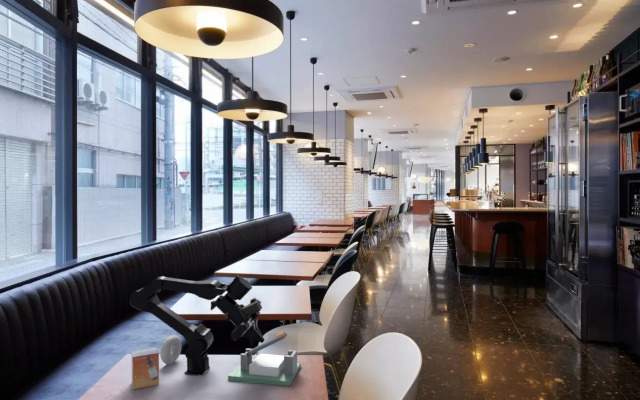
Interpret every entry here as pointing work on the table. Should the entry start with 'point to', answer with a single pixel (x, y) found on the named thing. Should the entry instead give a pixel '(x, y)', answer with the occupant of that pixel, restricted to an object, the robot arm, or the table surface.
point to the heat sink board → (261, 378)
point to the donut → (166, 347)
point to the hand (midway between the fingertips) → (263, 341)
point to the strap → (267, 343)
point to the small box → (145, 368)
